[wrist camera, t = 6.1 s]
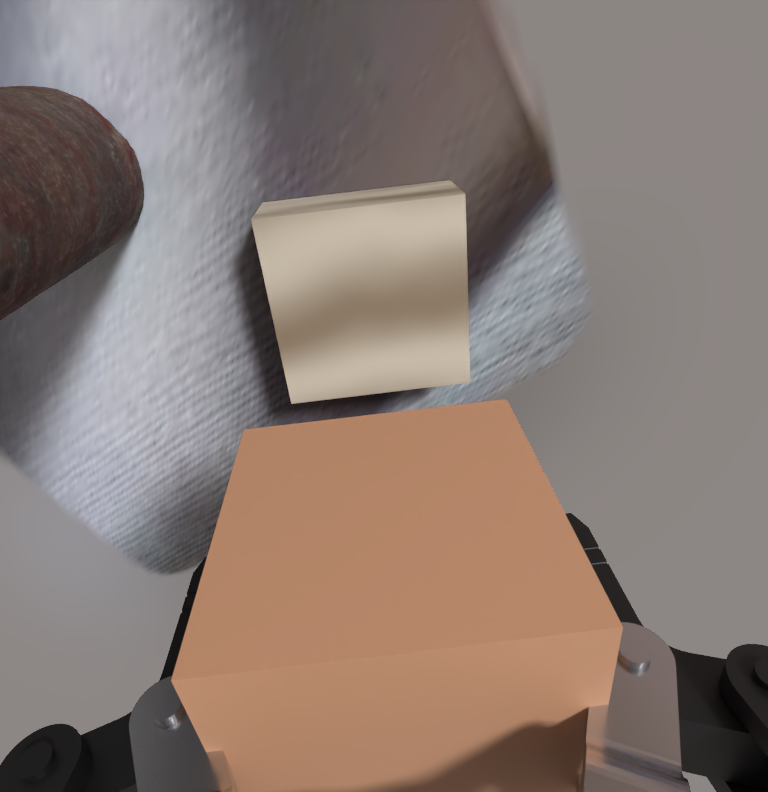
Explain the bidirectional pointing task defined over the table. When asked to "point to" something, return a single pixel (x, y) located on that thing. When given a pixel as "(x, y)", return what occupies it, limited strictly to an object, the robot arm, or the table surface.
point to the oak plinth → (368, 289)
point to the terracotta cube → (396, 612)
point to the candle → (58, 189)
